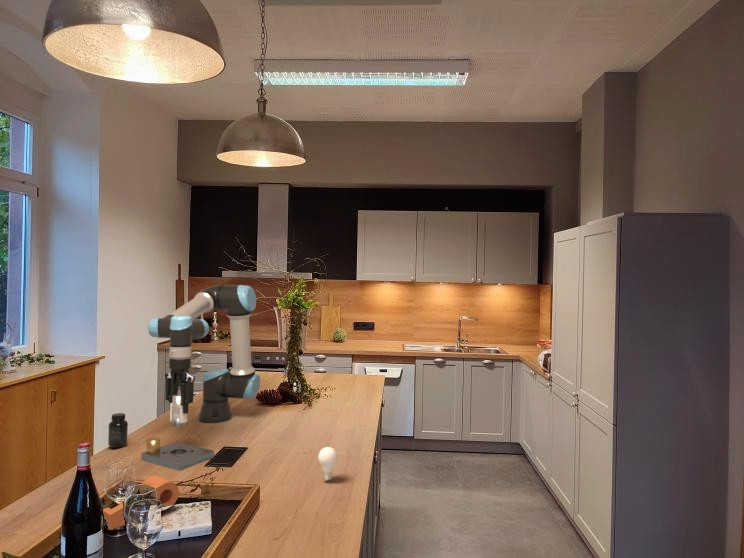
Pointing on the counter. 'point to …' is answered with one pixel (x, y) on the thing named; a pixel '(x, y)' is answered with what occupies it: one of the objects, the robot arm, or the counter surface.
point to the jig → (175, 454)
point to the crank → (165, 494)
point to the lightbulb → (327, 461)
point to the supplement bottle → (118, 430)
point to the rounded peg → (176, 410)
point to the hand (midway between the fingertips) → (178, 421)
